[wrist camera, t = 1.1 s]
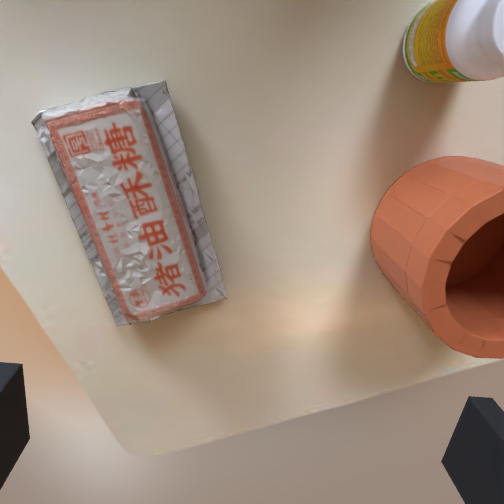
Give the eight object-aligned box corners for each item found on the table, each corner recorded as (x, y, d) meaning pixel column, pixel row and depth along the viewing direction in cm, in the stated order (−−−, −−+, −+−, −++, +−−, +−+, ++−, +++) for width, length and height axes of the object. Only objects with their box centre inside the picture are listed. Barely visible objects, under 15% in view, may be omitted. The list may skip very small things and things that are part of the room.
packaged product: (0, 115, 25) (155, 76, 24) (36, 112, 29) (167, 79, 29) (105, 350, 31) (228, 322, 31) (121, 318, 36) (228, 293, 35)
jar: (417, 131, 31) (497, 147, 22) (539, 189, 33) (659, 225, 24) (345, 264, 35) (387, 326, 26) (459, 308, 37) (535, 379, 28)
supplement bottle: (399, 87, 30) (473, 84, 21) (401, 5, 28) (484, -39, 19) (470, 78, 30) (575, 72, 21) (477, -5, 28) (596, -53, 19)
